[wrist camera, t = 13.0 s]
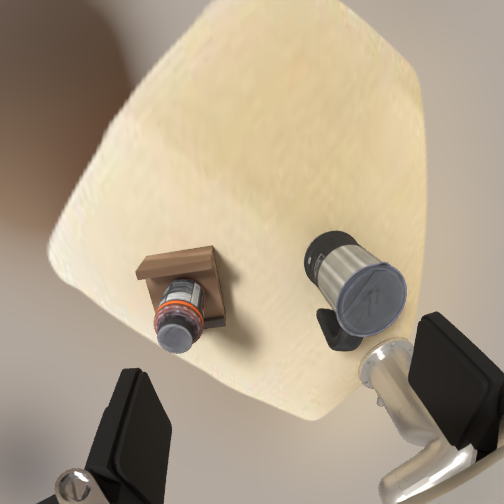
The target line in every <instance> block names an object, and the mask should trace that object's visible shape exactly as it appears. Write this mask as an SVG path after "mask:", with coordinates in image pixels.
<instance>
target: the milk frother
mask: <svg viewBox="0 0 504 504" xmlns="http://www.w3.org/2000/svg"><path fill="white" fill-rule="evenodd" d="M304 267H305V271H306V274H307V276H308V278H309V279H310V280H311V281H312V282H313V283H314V284H315V285H316V286H317V287H318V288H319V289H320V291H321V292H322V294H323V296H324V297H325V299H326V300H327V301H328V303H329V304H330V306H331V307H332V309H333V310H334V311H335V312H334V311H333V310H331V309H324V308H321V309H318V310H317V315H316V316H317V319H318V322H319V324H320V326H321V329H322V331H323V334H324V336H325V338H326V341H327V343H328V345H329V347H330V348H331V349H332V350H335V351H352V350H355V349H356V348H357V347H358V346H359V345H360V343H361V342H362V340H363V338H364V337H368V336H372V335H376V334H378V333H380V332H382V331H383V330H385V329H386V328H388V327H389V326H390V325H391V324H392V323H393V322H394V321H395V320H396V319H397V318H398V316H399V315H400V313H401V311H402V309H403V307H404V304H405V301H406V296H407V287H406V282H405V279H404V277H403V275H402V274H401V273H400V272H399V271H398V270H397V269H396V268H394V267H392V266H391V265H390V264H388V263H386V262H382V261H381V260H379V259H378V258H377V257H375V256H374V255H373V254H371V253H370V252H368V251H367V250H366V249H364V248H363V247H361V246H360V245H359V244H358V243H357V242H356V241H355V240H354V238H353V237H351V236H350V235H349V234H347V233H345V232H341V231H330V232H326V233H324V234H321V235H320V236H318V237H317V238H316V239H315V240H314V241H313V242H312V243H311V244H310V246H309V247H308V249H307V251H306V254H305V259H304Z"/></svg>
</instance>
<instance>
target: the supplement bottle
mask: <svg viewBox="0 0 504 504" xmlns="http://www.w3.org/2000/svg"><path fill="white" fill-rule="evenodd" d="M205 305H206V294H205V291H204V288H203V287H202V286H201V285H200V284H199V283H198V282H197V281H195V280H194V279H191V278H187V277H181V278H177V279H175V280H173V281H172V282H170V283H169V284H168V286H167V287H166V289H165V291H164V294H163V296H162V299H161V301H160V304H159V306H158V309H157V311H156V314H155V317H154V329H155V331H156V334H157V339H158V342H159V344H160V346H161V347H162V348H163V349H165V350H166V351H168V352H171V353H176V354H178V353H184V352H186V351H188V350H189V349H190V348H191V346H192V344H193V343H195V342H196V341H197V340H198V339H199V338H200V336H201V334H202V331H203V324H204V313H205Z"/></svg>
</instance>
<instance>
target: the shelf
mask: <svg viewBox="0 0 504 504" xmlns="http://www.w3.org/2000/svg"><path fill="white" fill-rule="evenodd" d="M136 276H137V279H138V280H142V279H145V280H146V283H147V287H148V290H149V294H150V297H151V300H152V304H153V307H154V310H155V313H156V311H157V309H158V306H159V304H160V301H161V299H162V296H163V294H164V291H165V289H166V287H167V286H168V284H169V283H170V282H172V281H173V280H175V279H177V278H181V277H187V278H191V279H194V280H195V281H197V282H198V283H199V284H200V285H201V286H202V287H203V288H204V291H205V294H206V305H205V313H204V324H203V329H207V328H215V327H222V326H226V324H225V308H224V303H223V298H222V293H221V288H220V283H219V278H218V273H217V268H216V262H215V257H214V252H213V246H207V247H200V248H194V249H188V250H182V251H176V252H170V253H163V254H157V255H151V256H146V257H145V259H144V260H143V262H142V263H141V264H140V266H139V267H138V269H137V270H136Z"/></svg>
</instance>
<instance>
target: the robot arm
mask: <svg viewBox="0 0 504 504" xmlns="http://www.w3.org/2000/svg"><path fill="white" fill-rule="evenodd" d="M359 378H360V380H361V382H362V384H363V385H364V386H366V387H368V388H371V389H375V391H376V392H377V395H378V399H377V405H378V406H385V408H386V410H387V412H388V414H389V415H390V417H391V419H392V421H393V423H394V424H395V426H396V428H397V429H398V432H399V433H400V435H401V436H402V437H403V439H404V440H406V441H407V442H409V443H411V444H415V445H419V446H424V447H425V448H424V449H423V450H421V451H420V452H419V453H418V454H417V455H415V456H414V457H413V458H411V459H409V460H408V461H406V462H405V463H403V464H402V465H400V466H399V467H397V468H395V469H394V470H392V471H391V472H390V473H388V474H386V475H385V476H384V477H383V478H382V479H381V481H380V482H379V487H378V491H379V495H380V498H381V501H382V503H383V504H504V373H503V372H502V371H501V370H500V369H499V368H498V367H497V366H496V365H495V364H494V363H493V362H492V361H491V360H490V359H489V358H488V357H487V356H486V355H485V354H484V353H483V352H482V351H481V350H480V349H479V348H478V347H477V346H476V345H474V344H473V343H472V342H471V341H470V340H469V339H468V338H467V337H466V336H465V335H463V333H462V332H460V331H459V330H458V329H457V328H456V327H455V326H454V325H453V324H451V323H450V322H449V321H448V320H447V319H446V318H445V317H444V316H443V315H441V314H440V313H439V312H433V313H430V314H427V315H424V316H423V317H422V318H421V321H419V323H418V327H417V333H416V339H415V344H414V347H413V345H412V344H411V343H410V342H409V341H408V340H406V339H404V338H393V339H389V340H386V341H384V342H382V343H380V344H379V345H377V346H376V347H375V348H373V349H372V350H371V351H370V352H369V353H368V354H367V355H366V357H365V358H364V360H363V361H362V363H361V365H360V368H359ZM171 434H172V426H171V422H170V420H169V418H168V416H167V414H166V412H165V410H164V409H163V406H162V404H161V402H160V400H159V398H158V396H157V394H156V392H155V390H154V387H153V385H152V383H151V381H150V378H149V376H148V374H147V373H146V372H142V370H141V369H140V368H129V369H123V370H122V372H121V374H120V377H119V379H118V382H117V384H116V387H115V390H114V392H113V395H112V398H111V400H110V403H109V406H108V407H107V408H106V409H105V411H104V413H103V416H102V418H101V421H100V424H99V427H98V430H97V432H96V436H95V438H94V441H93V445H92V447H91V450H90V453H89V456H88V459H87V462H86V466H85V469H80V468H72V469H69V470H66V471H65V472H63V473H62V474H61V475H60V476H59V477H58V478H57V480H56V482H55V488H54V490H55V495H52V496H51V497H49V498H47V499H45V500H43V501H41V502H39V503H37V504H163V503H164V494H165V484H166V474H167V466H168V457H169V450H170V441H171Z"/></svg>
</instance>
